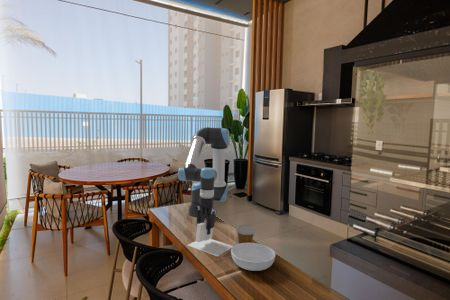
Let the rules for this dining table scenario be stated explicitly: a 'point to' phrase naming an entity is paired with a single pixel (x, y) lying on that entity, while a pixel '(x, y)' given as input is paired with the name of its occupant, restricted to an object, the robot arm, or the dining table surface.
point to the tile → (202, 232)
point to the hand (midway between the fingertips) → (204, 239)
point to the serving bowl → (253, 256)
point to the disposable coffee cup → (245, 234)
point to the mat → (211, 247)
